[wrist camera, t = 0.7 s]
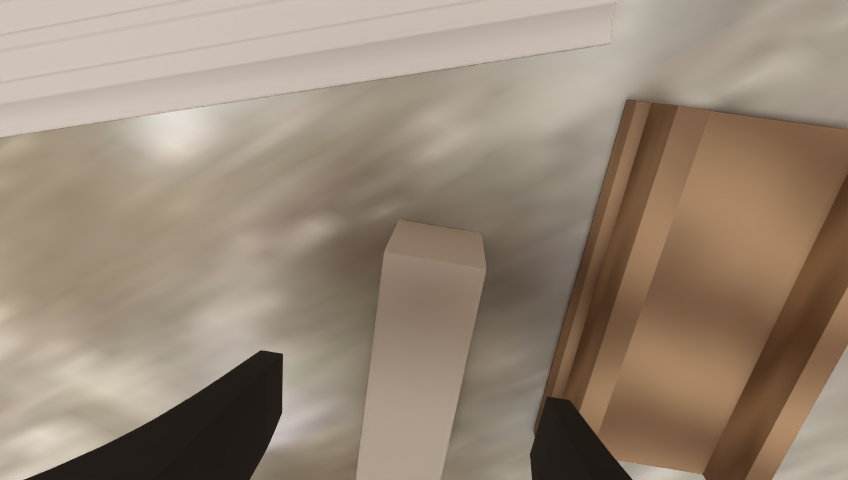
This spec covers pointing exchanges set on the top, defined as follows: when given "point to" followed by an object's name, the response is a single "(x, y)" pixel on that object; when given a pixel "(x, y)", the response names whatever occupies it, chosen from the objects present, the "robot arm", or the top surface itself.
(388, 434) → the beige rectangular block
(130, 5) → the baseboard
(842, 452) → the top surface
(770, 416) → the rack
